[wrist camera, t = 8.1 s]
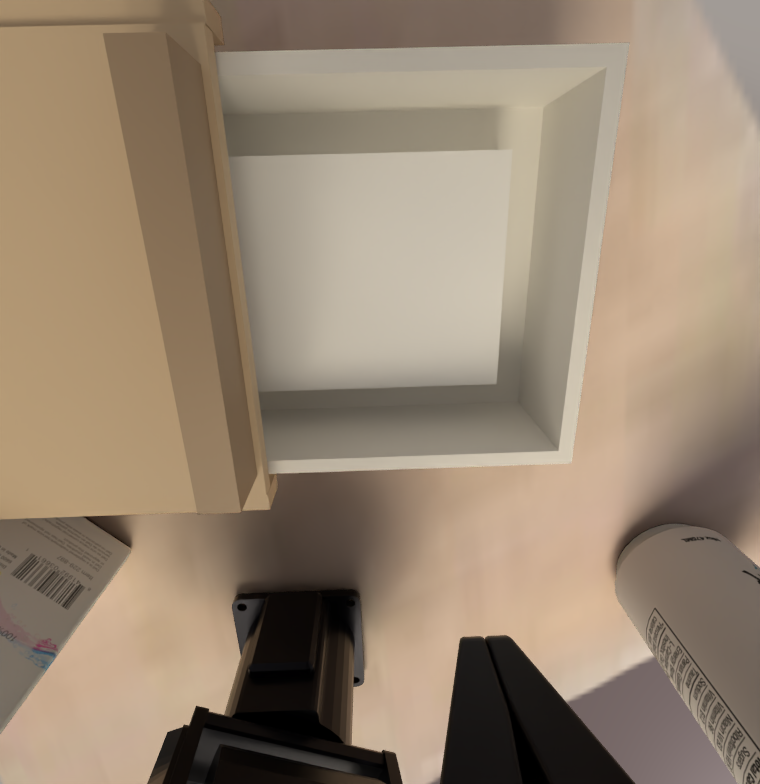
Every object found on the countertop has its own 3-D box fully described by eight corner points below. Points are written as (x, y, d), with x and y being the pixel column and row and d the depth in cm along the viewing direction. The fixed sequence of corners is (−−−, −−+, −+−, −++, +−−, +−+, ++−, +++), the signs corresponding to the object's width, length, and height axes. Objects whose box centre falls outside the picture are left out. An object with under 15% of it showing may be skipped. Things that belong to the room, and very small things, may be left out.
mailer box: (524, 407, 20) (571, 463, 16) (209, 418, 20) (161, 477, 16) (554, 93, 16) (629, 43, 12) (155, 103, 16) (66, 55, 11)
